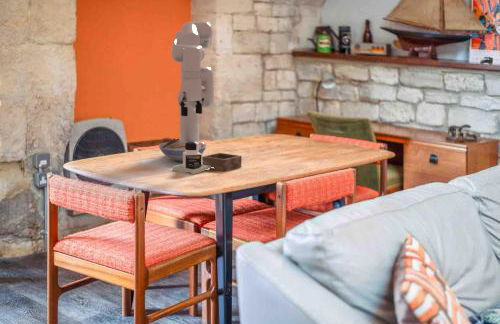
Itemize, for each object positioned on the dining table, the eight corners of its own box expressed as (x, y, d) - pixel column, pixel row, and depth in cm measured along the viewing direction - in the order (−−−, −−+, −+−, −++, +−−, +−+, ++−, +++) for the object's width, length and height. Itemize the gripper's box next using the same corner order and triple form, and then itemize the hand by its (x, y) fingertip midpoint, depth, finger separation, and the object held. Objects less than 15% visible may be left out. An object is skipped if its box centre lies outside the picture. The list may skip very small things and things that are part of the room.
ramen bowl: (199, 166, 344) (199, 148, 343) (151, 164, 349) (150, 146, 347) (213, 157, 368) (213, 140, 367) (167, 154, 373) (167, 138, 371)
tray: (190, 166, 344) (190, 162, 344) (210, 169, 337) (210, 165, 337) (172, 170, 335) (172, 166, 334) (193, 174, 328) (193, 169, 328)
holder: (219, 163, 352) (219, 152, 352) (241, 166, 345) (241, 155, 344) (202, 167, 342) (202, 156, 341) (224, 170, 335) (224, 159, 334)
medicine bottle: (185, 170, 332) (185, 143, 329) (182, 167, 338) (182, 140, 336) (201, 169, 334) (201, 142, 331) (198, 166, 340) (198, 140, 338)
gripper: (197, 73, 337) (197, 111, 341) (171, 76, 324) (171, 116, 327) (211, 74, 333) (210, 113, 337) (185, 77, 319) (185, 117, 323)
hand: (191, 114), depth 332 cm, fingers open, 9 cm apart
